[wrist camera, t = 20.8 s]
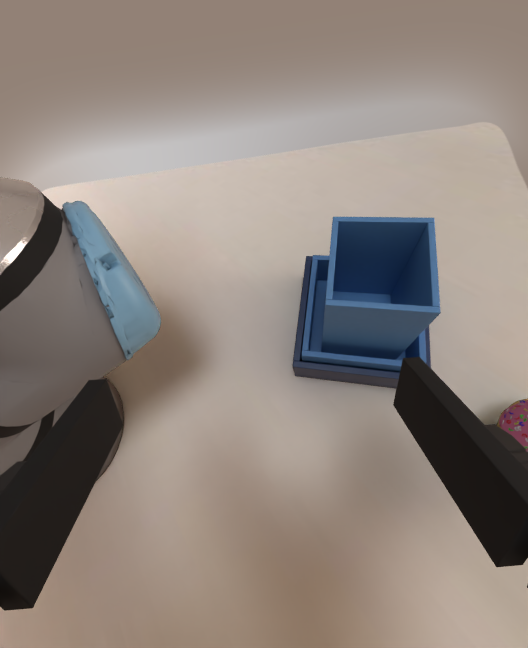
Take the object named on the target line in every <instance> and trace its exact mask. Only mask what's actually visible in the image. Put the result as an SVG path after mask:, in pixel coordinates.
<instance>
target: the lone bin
mask: <svg viewBox="0 0 528 648" xmlns="http://www.w3.org/2000/svg"><path fill="white" fill-rule="evenodd" d="M439 314H440V298H439V283H438V268H437V253H436V238H435V223H434V218H399V217H333V223H332V234H331V245H330V256H329V267H328V278H327V289H326V300H325V312H324V325H323V337H322V350H321V352H324V353H334V354H344V355H353V356H363V357H372V358H382V359H391V360H396V359H397V358H398V357H399V356H400V355H401V354H402V353H403V351H404V350H405V349H406V348H407V347H408V346H409V345H410V344H411V343H412V342H413V341H414V340H415V339H416V338H417V337H418V336H419V335H420V334H421V333H422V332H423V331H424V330H425V329H426V328H427V327H428V325H429V324H430V323H431V322H432V321H433V320H434V319H435V318H436V317H437V316H438V315H439Z"/></svg>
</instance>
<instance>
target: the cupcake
mask: <svg viewBox="0 0 528 648" xmlns="http://www.w3.org/2000/svg"><path fill="white" fill-rule="evenodd" d="M497 426H498V427H500V428H501V429H503V430H504V431H506V432H508V433H509V434H511V435H512V436H513V437H514V438H515V439H516V440H517V441H518V442H519V443H520V444H521V445H522V446H523V447H524V448H525V449H526V451H527V452H528V399H523V400H519V401H517V402H515V403H513V404H512V405H511V406H510V407H508V408H507V409H506V410H504V411H503V412H502V413H501V415H500V418H499V421H498V423H497Z"/></svg>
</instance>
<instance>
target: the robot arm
mask: <svg viewBox="0 0 528 648" xmlns="http://www.w3.org/2000/svg"><path fill="white" fill-rule="evenodd" d="M160 325H161V317H160V314H159V311H158V309H157V307H156V305H155V303H154V301H153V300H152V298H151V296H150V295H149V293H148V291H147V289H146V288H145V286H144V285H143V283H142V281H141V280H140V278H139V277H138V275H137V273H136V272H135V270H134V269H133V267H132V266H131V264H130V263H129V261H128V260H127V258H126V257H125V255H124V254H123V252H122V251H121V249H120V248H119V246H118V245H117V243H116V242H115V240H114V239H113V237H112V236H111V235H110V233H109V232H108V230H107V229H106V228H105V226H104V225H103V223H102V222H101V221H100V219H99V218H98V217H97V216H96V214H95V213H93V212H92V210H91V209H90V208H89V206H88V205H87V204H86V203H84V202H82V201H75V202H73V203H69V202H66V203H64V204H63V208H62V210H61V209H59V208H57V207H56V206H55V205H54V204H53V203H52V202H51V201H50V200H49V199H48V198H47V197H45V196H44V195H43V194H42V193H41V192H40V191H39V190H38V189H37V188H36V187H34V186H33V185H32V184H31V183H29V182H25V181H21V180H15V179H8V178H2V177H0V607H1V608H2V609H4V610H16V609H27V608H33V607H34V604H35V602H36V600H37V598H38V596H39V594H40V592H41V590H42V588H43V586H44V584H45V582H46V580H47V578H48V576H49V574H50V572H51V570H52V568H53V566H54V564H55V562H56V560H57V558H58V556H59V554H60V552H61V550H62V548H63V546H64V544H65V542H66V540H67V538H68V536H69V534H70V532H71V530H72V528H73V526H74V524H75V522H76V520H77V518H78V516H79V514H80V512H81V510H82V508H83V506H84V504H85V502H86V500H87V498H88V496H89V493H90V491H91V489H92V487H93V485H94V483H95V481H96V480H97V479H98V478H99V477H100V476H101V475H102V474H103V472H104V471H105V470H106V468H107V467H108V465H109V464H110V462H111V461H112V459H113V457H114V455H115V453H116V450H117V448H118V446H119V442H120V439H121V435H122V430H123V421H124V417H123V407H122V402H121V399H120V396H119V394H118V392H117V390H116V389H115V387H114V386H113V385H112V383H111V382H110V381H108V380H107V379H106V378H104V377H103V376H104V375H106V374H107V373H109V372H110V371H112V370H113V369H115V368H116V367H118V366H119V365H120V364H122V363H123V362H125V361H126V360H129V359H131V358H132V356H133V354H134V353H135V352H136V351H138V350H139V349H140V348H141V347H143V346H144V345H145V344H146V343H148V342H149V341H150V340H151V339H153V338H154V337H155V336H156V334H157V333H158V331H159V328H160ZM393 405H394V407H395V408H396V410H397V412H398V413H399V415H400V416H401V418H402V419H403V421H404V423H405V424H406V426H407V427H408V429H409V430H410V432H411V434H412V435H413V437H414V438H415V440H416V441H417V443H418V445H419V446H420V448H421V449H422V451H423V452H424V454H425V456H426V457H427V459H428V460H429V462H430V463H431V465H432V467H433V468H434V470H435V471H436V473H437V474H438V476H439V478H440V479H441V481H442V482H443V484H444V485H445V487H446V489H447V490H448V492H449V493H450V495H451V496H452V498H453V500H454V501H455V503H456V504H457V506H458V507H459V509H460V511H461V512H462V514H463V515H464V517H465V518H466V520H467V522H468V523H469V525H470V526H471V528H472V529H473V531H474V533H475V534H476V536H477V537H478V539H479V540H480V542H481V544H482V545H483V547H484V548H485V550H486V551H487V553H488V555H489V556H490V558H491V559H492V561H493V562H494V564H495V566H496V567H504V566H515V565H523V563H524V562H525V561H526V559H527V558H528V452H527V451H526V449H525V448H524V447H523V446H522V445H521V444H520V443H519V442H518V441H517V440H516V439H515V438H514V437H513V436H512V435H511V434H509V433H508V432H506V431H504V430H503V429H501V428H500V427H498V426H497V425H495V424H494V425H484V424H483V423H482V422H481V421H480V420H479V419H478V418H477V417H476V416H475V415H474V414H473V412H472V411H471V410H470V409H469V408H468V407H467V406H466V405H465V404H464V403H463V402H462V401H461V400H460V399H459V398H458V397H457V396H456V395H455V394H454V392H453V391H452V390H451V389H450V388H449V387H448V386H447V385H446V384H445V383H444V382H443V381H442V380H441V379H440V378H439V377H438V376H437V375H436V374H435V372H434V371H433V370H432V369H431V368H430V367H429V366H428V365H427V364H426V363H425V362H424V361H423V360H422V359H421V358H420V357H412V358H403V360H402V365H401V370H400V375H399V380H398V384H397V389H396V394H395V399H394V404H393ZM527 588H528V585H527Z"/></svg>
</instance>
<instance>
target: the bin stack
mask: <svg viewBox="0 0 528 648" xmlns="http://www.w3.org/2000/svg"><path fill="white" fill-rule="evenodd" d="M328 267H329V256H321V255H313V256H306V262H305V270H304V279H303V287H302V295H301V303H300V311H299V319H298V327H297V335H296V343H295V351H294V359H293V360H294V361H293V369H294V373H295V376H300V377H308V378H316V379H325V380H333V381H341V382H349V383H357V384H365V385H373V386H381V387H389V388H397V384H398V380H399V375H400V370H401V365H402V360H403V358H412V357H420V358H421V359H422V360H423V361H424V362H425V363H426V364H427V365H428V366H429V367H430V368H431V359H430V339H429V325H428V327H427V328H426V329H425V330H424V331H423V332H422V333H421V334H420V335H419V336H418V337H417V338H416V339H415V340H414V341H413V342H412V343H411V344H410V345H409V346H408V347H407V348H406V349H405V350H404V351H403V353H402V354H401V355H400V356H399V357H398V358H397V359H396V360H391V359H382V358H372V357H363V356H353V355H344V354H334V353H324V352H321V350H322V337H323V325H324V312H325V300H326V289H327V278H328Z"/></svg>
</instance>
